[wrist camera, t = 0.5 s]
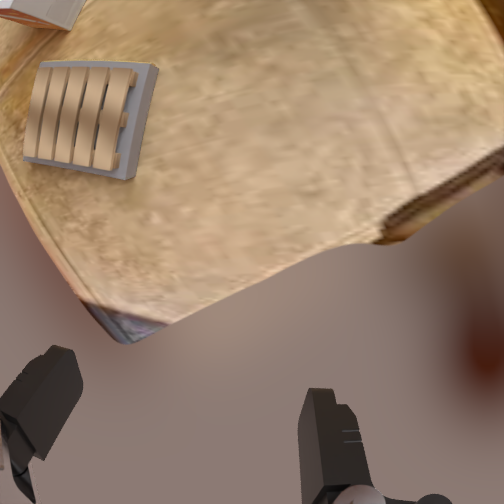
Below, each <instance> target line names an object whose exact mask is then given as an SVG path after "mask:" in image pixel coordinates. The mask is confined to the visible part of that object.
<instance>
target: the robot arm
mask: <svg viewBox="0 0 504 504" xmlns="http://www.w3.org/2000/svg"><path fill="white" fill-rule="evenodd" d="M82 390H83V380H82V377H81V373H80V370H79V367H78V363H77V360H76V356H75V353H74V352H73V350H70V349H67V348H64V347H60V346H57V345H52V346H51V347H50V348H49V349H48V351H47V352H46V353H45V354H44V355H40V356H38V357H36V358H35V359H33V360H31V361H30V362H29V363H28V364H27V365H26V367H25V368H24V369H23V370H22V373H20V374H19V375H18V376H17V377H16V380H14V381H13V382H12V384H11V385H10V386H9V387H8V389H7V390H6V391H5V393H4V394H3V395H2V396H1V398H0V504H41V501H40V497H39V493H38V489H37V485H36V481H35V476H34V472H33V467H32V464H31V462H30V460H31V458H32V456H35V457H37V458H39V459H41V460H43V461H44V460H45V458H46V456H47V454H48V452H49V450H50V449H51V447H52V445H53V443H54V442H55V440H56V438H57V436H58V434H59V433H60V431H61V429H62V427H63V425H64V424H65V422H66V420H67V419H68V417H69V415H70V413H71V412H72V410H73V408H74V407H75V405H76V403H77V402H78V400H79V398H80V397H81V394H82ZM361 441H362V439H361V435H360V432H359V426H358V422H357V418H356V416H355V414H354V413H353V412H352V410H351V409H350V408H349V407H348V405H346V404H342V405H341V404H336V399H335V394H334V391H333V389H321V388H309V389H308V392H307V395H306V398H305V401H304V404H303V408H302V411H301V414H300V417H299V423H298V444H299V457H300V458H299V459H300V475H301V493H302V504H452V503H451V502H450V500H449V499H448V498H446V497H445V496H442V495H439V494H430V495H426V496H424V497H422V498H421V499H420V500H419V501H417V502H413V501H403V500H395V499H390V498H387V497H385V496H383V495H382V494H381V493H380V492H379V491H378V490H377V489H375V487H374V486H373V484H372V482H371V478H370V473H369V469H368V464H367V460H366V456H365V451H364V447H363V443H362V442H361Z"/></svg>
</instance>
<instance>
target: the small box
mask: <svg viewBox="0 0 504 504" xmlns="http://www.w3.org/2000/svg"><path fill="white" fill-rule="evenodd" d="M85 2H86V0H0V17H1V18H4V19H8V20H11V21H15V22H18V23H21V24H24V25H27V26H30V27H33V28H48V29H58V30H65V31H71V29H72V27H73V25H74V23H75V21H76V19H77V17H78V15H79V13H80V11H81V9H82V7H83V5H84V3H85Z"/></svg>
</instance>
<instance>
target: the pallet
mask: <svg viewBox="0 0 504 504" xmlns="http://www.w3.org/2000/svg"><path fill="white" fill-rule="evenodd" d="M110 69H111V68H109V67H91V69H90V67H72V69H71V67H54V69H53V67H40V68H38V70H37V74H36V78H35V82H34V87H33V91H32V96H31V101H30V106H29V112H28V118H27V124H26V131H25V138H24V146H23V156H29V157H37V155H38V158H41V159H47V160H54V161H59V162H65V163H71V162H72V161H73V164H76V165H81V166H87V167H89V166H91V164H92V165H93V168H98V169H103V170H108V171H111V170H112V168H113V169H116V168H119V164H120V158H121V153H115V150H116V144H117V139H118V134H119V129H120V127H126V126H127V121H128V116H129V113H126V112H123V110H124V105H125V101H126V97H127V92H128V88H129V87H136V83H137V79H138V75H139V73H137V72H134V71H133V69H129V68H113V70H110ZM67 83H68V85H67ZM49 84H50V86H49ZM86 84H87V87H86V91H85V96H84V100H83V105H82V108H81V103H82V98H83V94H84V89H85V85H86ZM66 85H67V89H66ZM106 85H108V89H107V93H106V98H105V102H104V107H103V110H101V106H102V102H103V97H104V93H105V89H106ZM48 88H49V91H48ZM65 89H66V94H65ZM47 93H48V96H47ZM64 94H65V98H64ZM46 98H47V100H46ZM63 99H64V103H63ZM45 103H46V105H45ZM62 103H63V106H62ZM42 119H43V122H42ZM59 120H60V125H59ZM78 122H79V126H78V131H77V137H76V144H75V146H74V141H75V135H76V129H77V123H78ZM98 124H100V126H99V132H98V137H97V143H96V149H94V143H95V137H96V132H97V126H98ZM41 125H42V129H41ZM58 125H59V131H58ZM57 131H58V137H57ZM40 132H41V135H40ZM56 137H57V143H56ZM39 138H40V141H39ZM54 158H55V159H54Z"/></svg>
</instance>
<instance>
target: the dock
mask: <svg viewBox="0 0 504 504" xmlns="http://www.w3.org/2000/svg"><path fill="white" fill-rule="evenodd" d="M40 67H53V69H54V67H71V69H72V67H90V69H91V67H109V68H111V69H110V70H113V68H129V69H133V71H134V72H137V73H139V75H138V79H137V83H136V87H129V88H128V92H127V97H126V101H125V105H124V110H123V112H126V113H129V116H128V121H127V126H126V127H120V129H119V134H118V139H117V144H116V150H115V153H121V158H120V164H119V168H116V169H113V168H112V170H111V171H108V170H103V169H98V168H93V165H92V164H91V166H89V167H87V166H81V165H76V164H73V161H72V162H71V163H65V162H59V161H54V160H47V159H41V158H38V155H37V157H29V156H23V161H27V162H33V163H39V164H44V165H50V166H56V167H61V168H66V169H72V170H77V171H82V172H87V173H93V174H98V175H103V176H108V177H113V178H117V179H122V180H127V179H130V178H133V177H135V176H136V170H137V165H138V159H139V154H140V148H141V143H142V138H143V133H144V129H145V124H146V119H147V115H148V111H149V106H150V102H151V98H152V94H153V90H154V86H155V82H156V79H157V75H158V71H159V69H158V68H157V67H155V64H153V63H149V62H137V61H120V60H51V61H43V62H40V66H39V68H40ZM67 85H68V83H67ZM67 85H66V89H67ZM49 86H50V84H49ZM86 87H87V84H86V85H85V89H84V94H83V98H82V103H81V108H82V105H83V100H84V96H85V91H86ZM66 89H65V94H66ZM107 89H108V85H106V89H105V93H104V97H103V102H102V106H101V110H103V107H104V102H105V98H106V93H107ZM48 91H49V88H48ZM65 94H64V98H65ZM47 96H48V93H47ZM46 100H47V98H46ZM63 103H64V99H63ZM63 103H62V106H63ZM45 105H46V103H45ZM42 122H43V119H42ZM59 125H60V120H59ZM59 125H58V131H59ZM78 126H79V122H78V123H77V129H76V135H75V141H74V146H75V144H76V137H77V131H78ZM99 126H100V124H98V126H97V132H96V137H95V143H94V149H96V143H97V137H98V132H99ZM41 129H42V125H41ZM58 131H57V137H58ZM40 135H41V132H40ZM57 137H56V143H57ZM39 141H40V138H39ZM54 159H55V158H54Z"/></svg>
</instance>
